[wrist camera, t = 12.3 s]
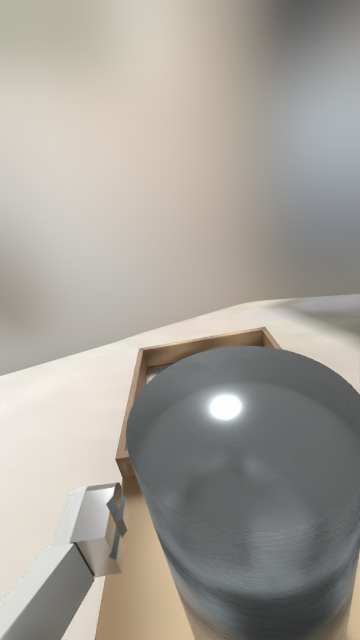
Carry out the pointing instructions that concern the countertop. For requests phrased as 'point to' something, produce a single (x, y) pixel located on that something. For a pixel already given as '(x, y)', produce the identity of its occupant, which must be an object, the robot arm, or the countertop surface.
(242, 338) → the wooden tray board
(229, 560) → the slate tin
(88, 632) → the countertop surface
